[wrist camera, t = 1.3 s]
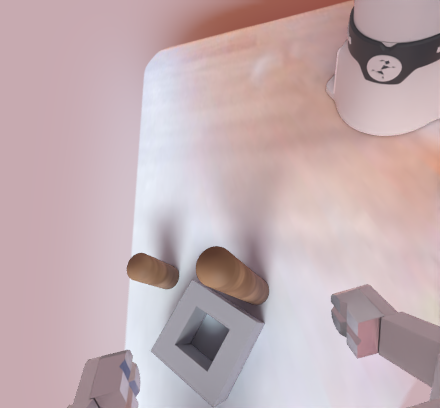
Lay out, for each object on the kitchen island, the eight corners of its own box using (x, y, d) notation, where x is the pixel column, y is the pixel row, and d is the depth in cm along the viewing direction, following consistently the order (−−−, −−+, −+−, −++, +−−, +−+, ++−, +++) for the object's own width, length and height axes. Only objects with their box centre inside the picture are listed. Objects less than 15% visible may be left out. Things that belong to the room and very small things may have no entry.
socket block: (204, 284, 41) (192, 279, 38) (264, 323, 37) (256, 322, 33) (168, 349, 39) (150, 351, 36) (226, 399, 35) (213, 407, 31)
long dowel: (251, 272, 40) (209, 239, 26) (273, 285, 38) (241, 257, 24) (238, 296, 39) (188, 274, 25) (261, 310, 37) (220, 295, 24)
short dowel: (166, 261, 45) (137, 248, 38) (183, 272, 43) (155, 260, 37) (154, 281, 44) (122, 272, 38) (170, 293, 43) (139, 285, 36)
